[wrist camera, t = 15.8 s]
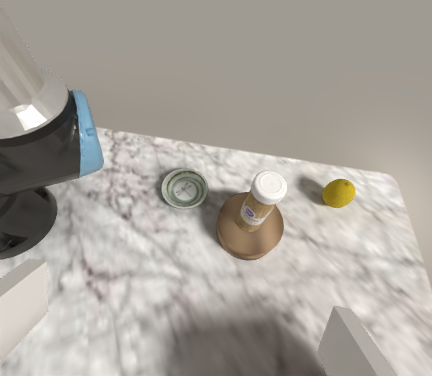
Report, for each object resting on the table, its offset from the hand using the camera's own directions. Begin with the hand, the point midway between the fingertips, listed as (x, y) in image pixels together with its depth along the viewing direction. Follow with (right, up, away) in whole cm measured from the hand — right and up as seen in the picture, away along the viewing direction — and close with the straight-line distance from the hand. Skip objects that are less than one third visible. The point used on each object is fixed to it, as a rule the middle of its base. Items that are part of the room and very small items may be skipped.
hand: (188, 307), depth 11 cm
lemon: (+27, +2, +41) cm, 49 cm away
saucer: (-5, +4, +39) cm, 40 cm away
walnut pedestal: (+7, -3, +36) cm, 37 cm away
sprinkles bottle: (+7, -1, +32) cm, 32 cm away
